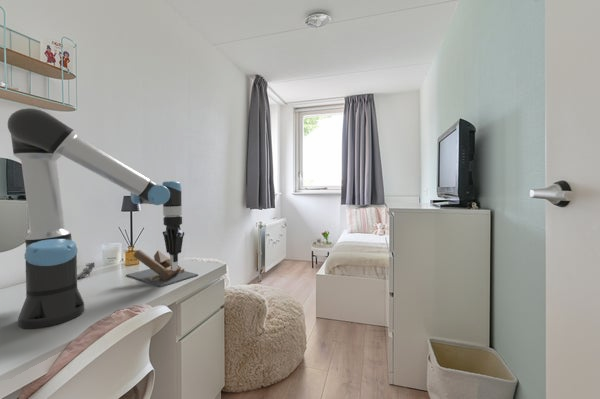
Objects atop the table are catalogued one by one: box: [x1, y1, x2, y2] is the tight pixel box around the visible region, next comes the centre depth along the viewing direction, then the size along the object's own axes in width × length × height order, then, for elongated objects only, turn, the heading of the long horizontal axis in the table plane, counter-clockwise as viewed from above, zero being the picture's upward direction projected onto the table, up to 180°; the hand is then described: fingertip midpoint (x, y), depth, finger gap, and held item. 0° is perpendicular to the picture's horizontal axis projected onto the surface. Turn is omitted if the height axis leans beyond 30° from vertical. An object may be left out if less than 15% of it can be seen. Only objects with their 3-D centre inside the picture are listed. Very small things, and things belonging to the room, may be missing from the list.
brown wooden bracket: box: [133, 249, 182, 281], centre depth 121 cm, size 4×11×18 cm
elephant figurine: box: [77, 262, 96, 280], centre depth 123 cm, size 10×6×9 cm
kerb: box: [150, 267, 185, 281], centre depth 123 cm, size 16×1×2 cm, turn 148°
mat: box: [125, 268, 199, 288], centre depth 125 cm, size 18×28×1 cm, turn 58°
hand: (174, 268), depth 120 cm, fingers closed
